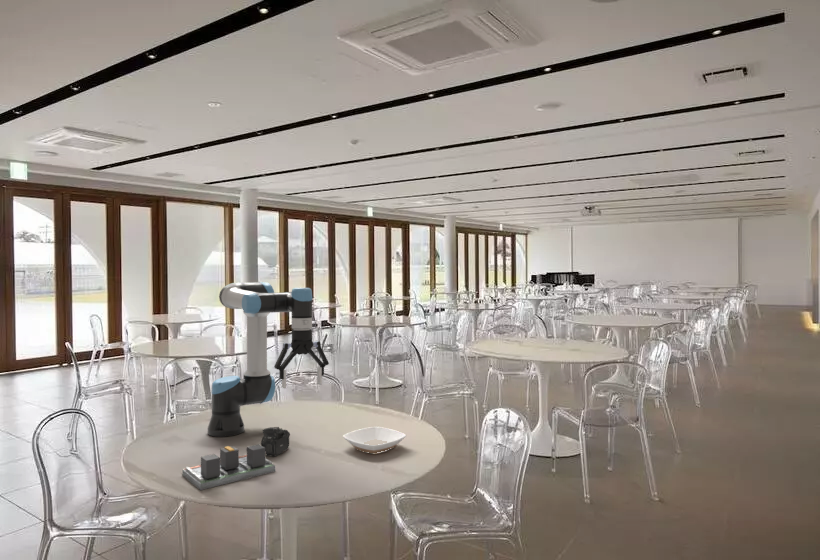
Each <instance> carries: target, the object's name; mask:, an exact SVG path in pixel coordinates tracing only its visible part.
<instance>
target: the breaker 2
mask: <svg viewBox="0 0 820 560" xmlns="http://www.w3.org/2000/svg"><path fill="white" fill-rule="evenodd" d="M239 456H240V455H239V449H238V448H236V447H235V446H233V445H232V446H231V445H230V446H229V445H227V446H224V447H223V448H219V457H220V466H221V467H222V468H224V469H225V470H229V469H233V468H237V467H239Z"/></svg>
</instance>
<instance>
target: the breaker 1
mask: <svg viewBox="0 0 820 560" xmlns="http://www.w3.org/2000/svg"><path fill="white" fill-rule="evenodd" d="M200 465H201V475H202V476H203V477H204V478H206V479H209V478H213V477H217V476H220V456H219V455H217V454H216V453H212V454H207V455H203V456H200Z"/></svg>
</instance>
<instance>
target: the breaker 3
mask: <svg viewBox="0 0 820 560" xmlns="http://www.w3.org/2000/svg"><path fill="white" fill-rule="evenodd" d="M246 455H247V464H248V465H249V466H251V467H253V468H254V467H258V466H263V465H265V458H266V452H265V447H263V446H261V444H259V443H258V444H255V445H249V446H248V445H247V446H246Z"/></svg>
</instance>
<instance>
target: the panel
mask: <svg viewBox="0 0 820 560" xmlns="http://www.w3.org/2000/svg"><path fill="white" fill-rule="evenodd" d="M275 472H276V465H275V464H273V461H271V460H270V459H267V458H266V457H265V465H263V466H258V467H254V468H253V467H251V466H249V465H248V464H247V454H245V455H239V467H237V468H233V469H229V470H225V469H224V468H222V467H221V466H220V476H217V477H213V478H209V479H206V478H204V477H203V476H202V475H201V464H200V465H196V466H191V467H189V466H185V468H183V469H182V476H183V477H184V478H185V479H186V480H188V482H190V483H191V484H192V485H193V486H195V487H196V488H197V489H198V490H199V491H203V490H206V489H207V490H208V489H211V488H215V487H218V486H224V485H226V484H231V483H235V482H239V481H243V480H246V479H251V478H254V477H258V476H263V475H266V474H270V473H275Z"/></svg>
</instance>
